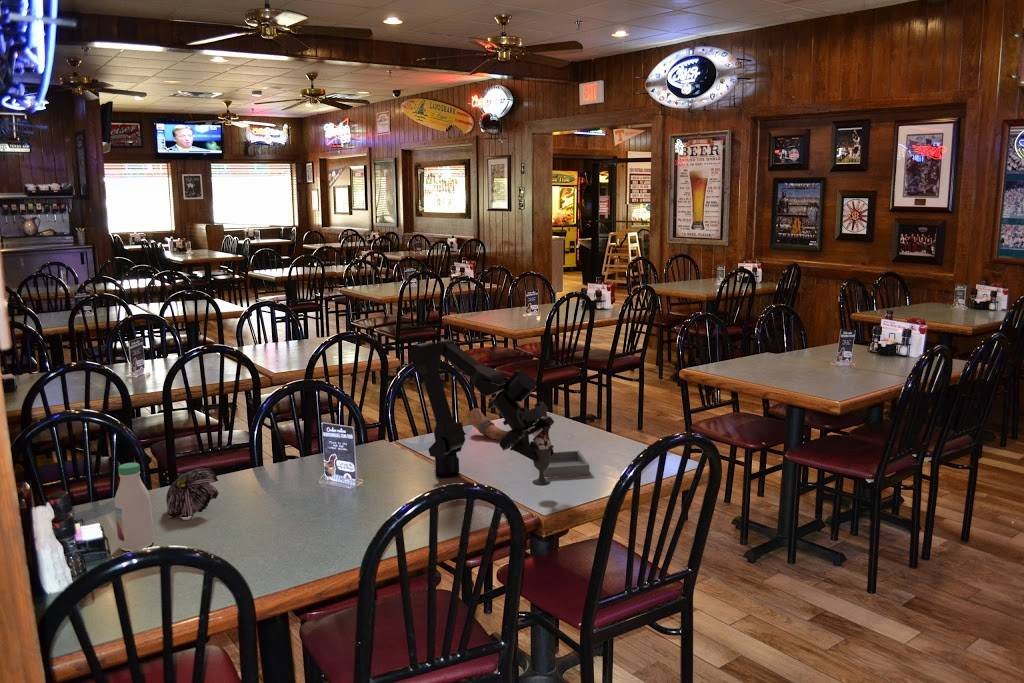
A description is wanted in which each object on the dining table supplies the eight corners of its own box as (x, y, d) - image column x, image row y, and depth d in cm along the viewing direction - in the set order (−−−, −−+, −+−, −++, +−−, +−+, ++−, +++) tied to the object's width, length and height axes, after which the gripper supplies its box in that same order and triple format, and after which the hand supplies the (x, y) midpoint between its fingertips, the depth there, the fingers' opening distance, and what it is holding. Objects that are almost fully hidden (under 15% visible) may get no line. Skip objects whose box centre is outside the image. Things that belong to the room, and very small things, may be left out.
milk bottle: (159, 538, 201) (151, 459, 197) (147, 552, 193) (138, 470, 190) (127, 539, 201) (119, 460, 197) (113, 553, 193) (104, 471, 189)
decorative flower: (146, 477, 216) (201, 450, 223) (159, 509, 222) (213, 482, 230) (166, 506, 206) (223, 477, 214) (179, 539, 212) (234, 510, 220)
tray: (543, 477, 238) (543, 467, 238) (534, 462, 252) (534, 453, 251) (589, 474, 240) (589, 464, 240) (578, 459, 253) (578, 450, 253)
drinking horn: (475, 430, 287) (474, 402, 285) (538, 447, 267) (537, 417, 265) (464, 433, 283) (463, 405, 281) (526, 451, 263) (526, 420, 261)
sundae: (554, 478, 225) (554, 425, 223) (553, 487, 219) (553, 432, 216) (530, 477, 226) (529, 424, 223) (528, 486, 219) (527, 431, 217)
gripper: (507, 401, 213) (543, 450, 208) (548, 387, 228) (582, 432, 223) (484, 426, 219) (518, 474, 215) (525, 410, 234) (558, 455, 229)
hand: (545, 458), depth 220 cm, fingers closed on sundae, 6 cm apart
